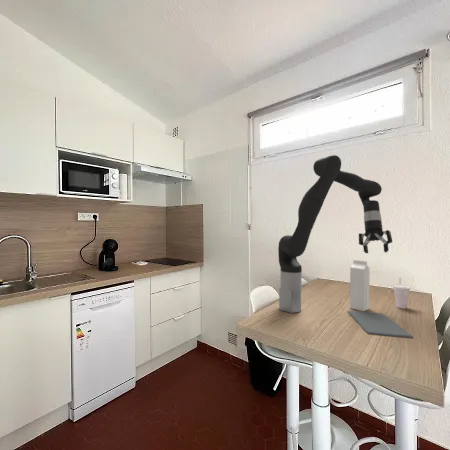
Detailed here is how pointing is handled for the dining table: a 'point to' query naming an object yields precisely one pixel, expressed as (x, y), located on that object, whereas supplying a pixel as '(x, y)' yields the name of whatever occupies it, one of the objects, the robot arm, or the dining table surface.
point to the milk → (359, 285)
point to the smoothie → (401, 295)
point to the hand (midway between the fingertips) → (376, 252)
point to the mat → (378, 324)
